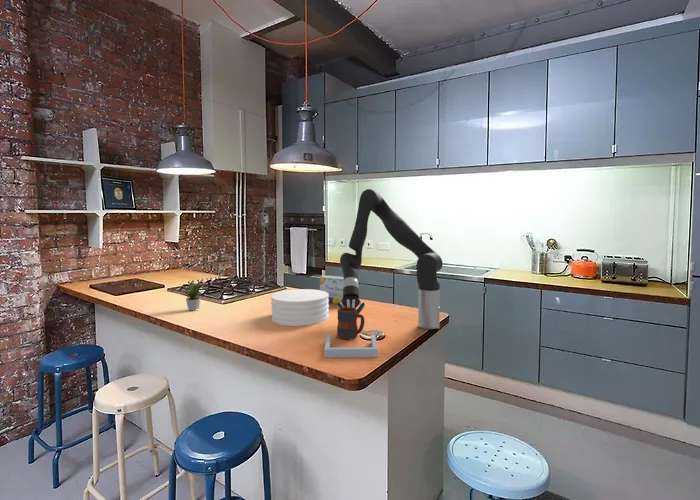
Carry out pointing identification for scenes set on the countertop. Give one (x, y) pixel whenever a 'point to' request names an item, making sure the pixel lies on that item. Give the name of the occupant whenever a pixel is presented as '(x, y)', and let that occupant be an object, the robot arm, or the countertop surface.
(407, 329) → the countertop surface
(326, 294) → the plate stack
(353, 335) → the mug
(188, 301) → the house plant
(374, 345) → the dock bay
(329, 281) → the snack box
